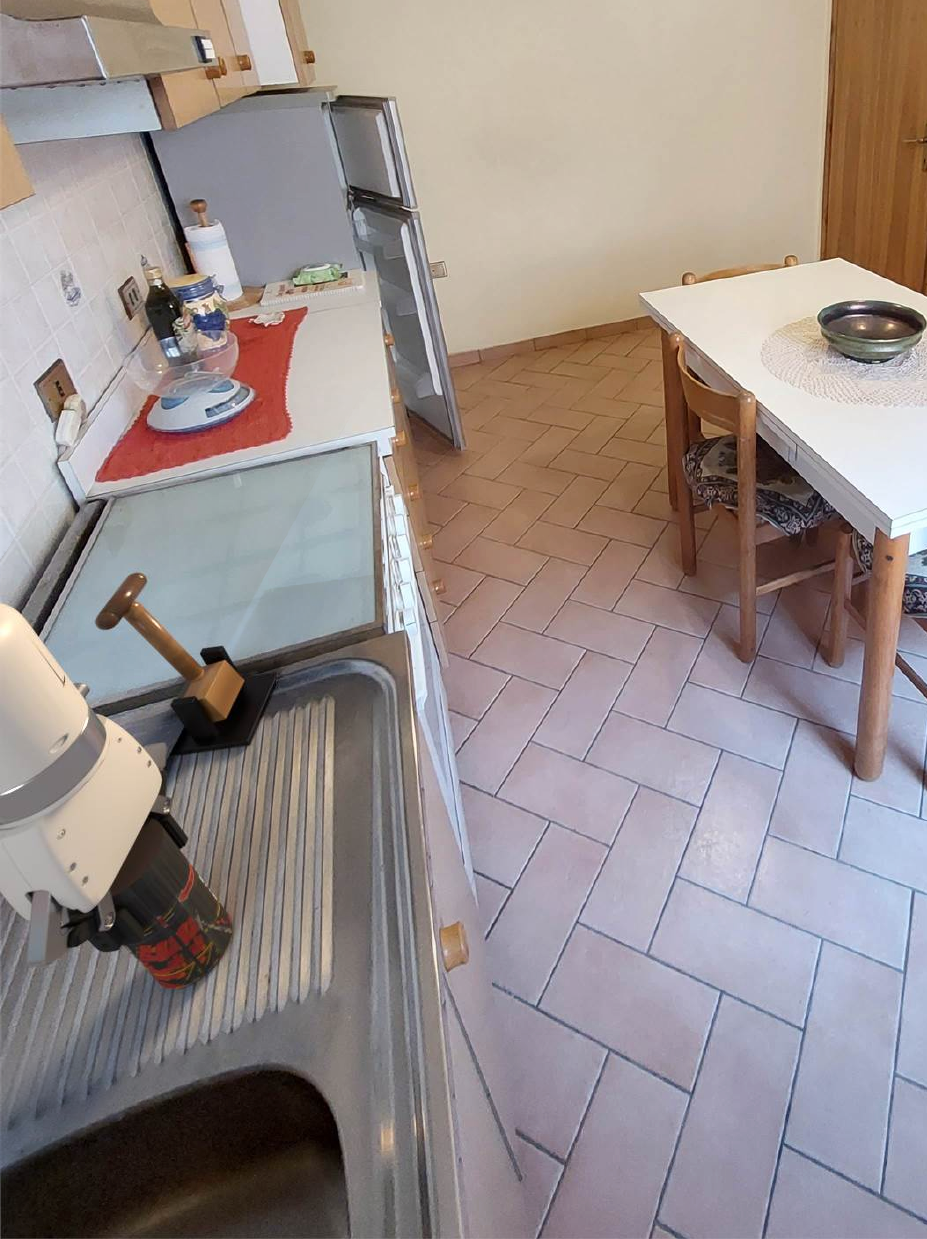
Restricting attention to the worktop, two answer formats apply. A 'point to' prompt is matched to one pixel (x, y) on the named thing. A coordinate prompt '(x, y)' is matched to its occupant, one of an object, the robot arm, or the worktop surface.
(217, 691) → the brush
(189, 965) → the deodorant
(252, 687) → the brush stand
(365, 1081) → the worktop surface
